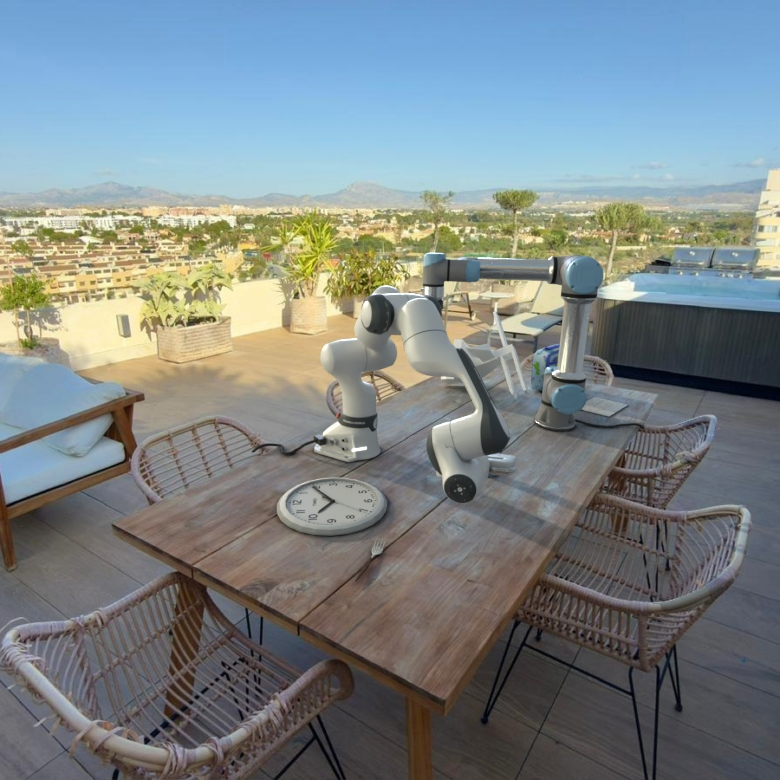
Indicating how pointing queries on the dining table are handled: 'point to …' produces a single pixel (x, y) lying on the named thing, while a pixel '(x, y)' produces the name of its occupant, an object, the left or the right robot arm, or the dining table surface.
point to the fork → (375, 551)
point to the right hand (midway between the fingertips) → (430, 357)
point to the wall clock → (331, 506)
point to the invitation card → (603, 406)
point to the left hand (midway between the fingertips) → (479, 452)
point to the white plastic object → (491, 360)
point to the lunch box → (543, 364)
